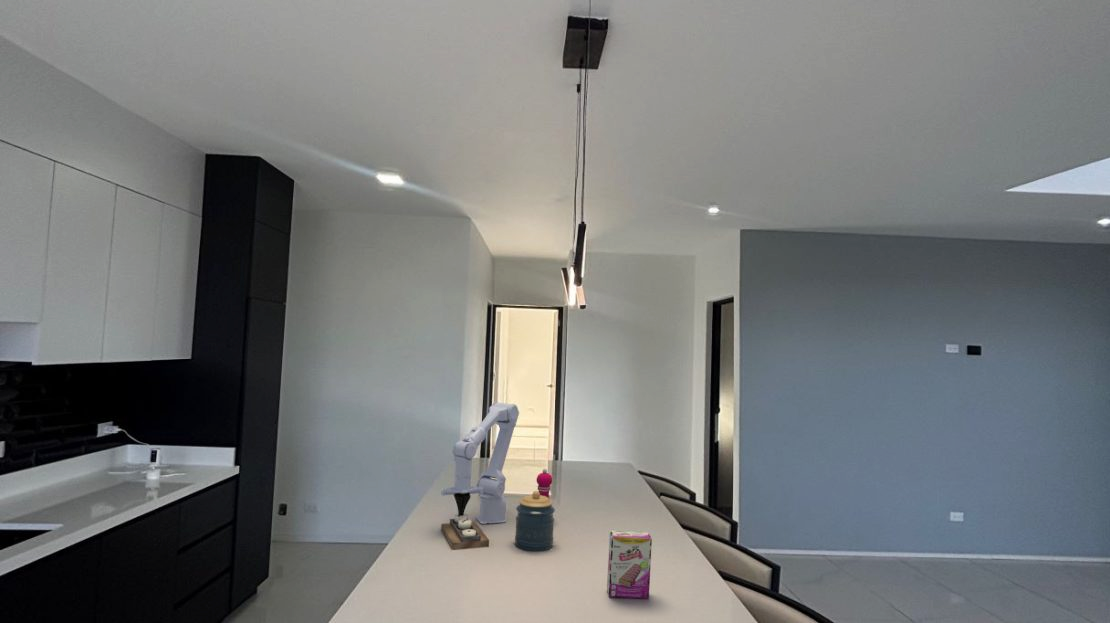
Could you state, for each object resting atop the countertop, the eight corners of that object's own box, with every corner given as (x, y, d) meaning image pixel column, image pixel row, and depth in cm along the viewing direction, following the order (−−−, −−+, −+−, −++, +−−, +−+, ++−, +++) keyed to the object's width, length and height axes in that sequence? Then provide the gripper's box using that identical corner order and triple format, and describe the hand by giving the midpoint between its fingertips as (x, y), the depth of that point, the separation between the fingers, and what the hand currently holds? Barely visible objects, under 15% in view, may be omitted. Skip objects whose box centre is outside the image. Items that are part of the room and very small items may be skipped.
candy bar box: (608, 598, 153) (611, 536, 154) (606, 590, 158) (608, 530, 159) (650, 600, 153) (652, 537, 154) (646, 591, 158) (648, 531, 159)
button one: (473, 534, 192) (474, 528, 192) (476, 539, 188) (477, 532, 188) (460, 535, 190) (461, 529, 190) (463, 540, 186) (464, 533, 186)
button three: (469, 524, 198) (469, 518, 198) (472, 528, 194) (472, 521, 194) (456, 525, 196) (457, 518, 196) (459, 529, 192) (460, 522, 192)
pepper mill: (552, 520, 218) (555, 467, 219) (551, 526, 211) (553, 471, 212) (534, 518, 219) (536, 466, 220) (531, 524, 212) (534, 470, 213)
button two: (465, 518, 204) (465, 512, 204) (468, 522, 200) (468, 516, 200) (453, 519, 202) (453, 513, 202) (455, 523, 198) (456, 517, 198)
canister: (548, 553, 184) (551, 498, 185) (509, 548, 186) (512, 494, 187) (556, 540, 196) (559, 488, 197) (520, 536, 199) (522, 484, 200)
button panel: (474, 527, 206) (474, 517, 206) (488, 546, 188) (489, 535, 188) (441, 529, 202) (441, 519, 202) (452, 549, 183) (453, 538, 183)
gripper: (444, 479, 195) (442, 519, 195) (485, 477, 201) (483, 516, 200) (440, 474, 202) (438, 513, 201) (480, 473, 207) (478, 511, 207)
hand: (460, 514), depth 201 cm, fingers closed, pressing on button two
